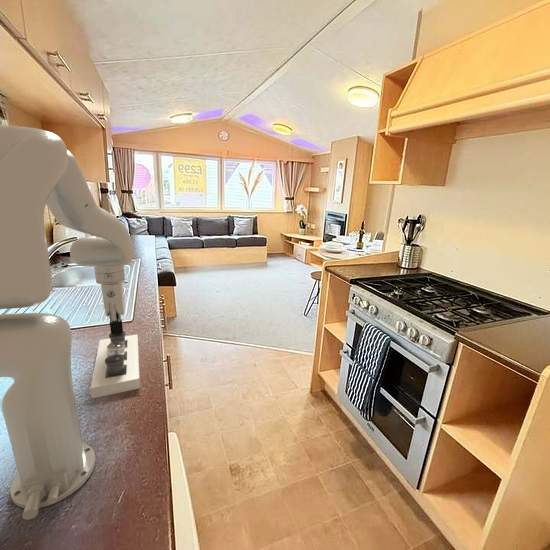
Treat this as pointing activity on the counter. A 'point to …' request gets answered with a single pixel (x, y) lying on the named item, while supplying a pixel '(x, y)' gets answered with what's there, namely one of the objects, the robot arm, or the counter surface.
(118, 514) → the counter surface
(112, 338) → the knob far
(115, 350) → the knob middle
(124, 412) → the counter surface
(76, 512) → the counter surface
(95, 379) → the panel
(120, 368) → the knob near
